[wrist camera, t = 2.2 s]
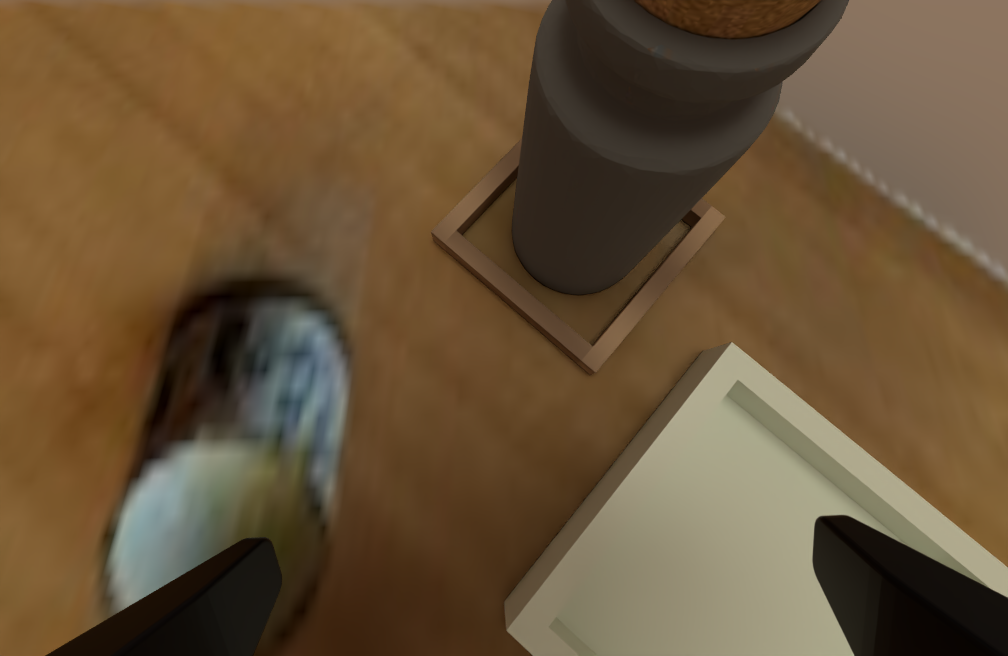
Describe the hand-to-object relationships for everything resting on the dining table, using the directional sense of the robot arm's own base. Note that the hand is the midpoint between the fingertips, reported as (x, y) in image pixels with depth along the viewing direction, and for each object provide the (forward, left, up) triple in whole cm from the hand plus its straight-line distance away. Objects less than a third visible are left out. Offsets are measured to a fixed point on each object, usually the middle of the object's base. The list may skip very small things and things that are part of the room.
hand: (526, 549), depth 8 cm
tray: (+3, -10, -12) cm, 15 cm away
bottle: (+10, +4, -12) cm, 16 cm away
